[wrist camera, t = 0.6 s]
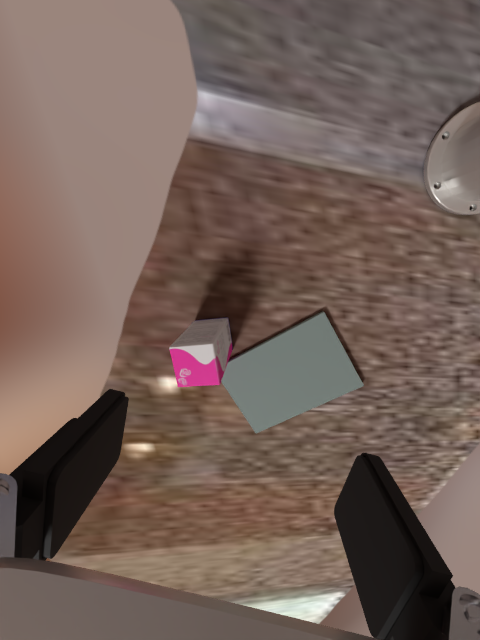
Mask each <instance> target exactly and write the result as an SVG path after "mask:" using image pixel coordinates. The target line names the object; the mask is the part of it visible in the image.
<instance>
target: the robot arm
mask: <svg viewBox="0 0 480 640" xmlns="http://www.w3.org/2000/svg"><path fill="white" fill-rule="evenodd" d="M442 137H443V139H442ZM424 181H425V186H426V189H427V191H428V194H429V195H430V197H431V198H432V200H433V201H434V202H435V203H436V204H437V205H438V206H439V207H441V208H442V209H444V210H445V211H448V212H451V213H454V214H460V215H472V214H478V213H480V102H477V103H474V104H472V105H471V106H469V107H467V108H465V109H463V110H462V111H460V112H459V113H457V114H456V115H454V116H453V117H452V118H451V119H450V120H449V121H448V122H446V123H445V124H444V126H443V127H442V128H441V129H440V130H439V131H438V133H437V134H436V136H435V137H434V139H433V141H432V142H431V144H430V147H429V149H428V152H427V154H426V159H425V163H424ZM434 186H435V188H434ZM128 400H129V399H128V397H125V393H124V392H121V391H117V390H113V389H109V390H108V391H107V392H105V393H104V394H103V395H102V396H101V397H100V398H99V399H98V400H97V401H96V402H95V403H94V404H93V405H92V406H91V407H89V408H88V409H87V411H85V412H84V413H83V414H82V415H81V416H80V417H79V418H78V419H77V418H73V419H71V420H70V421H68V422H67V423H66V424H65V425H64V426H63V427H62V428H60V429H59V430H58V431H57V432H56V433H55V434H54V435H53V436H52V437H50V439H48V440H47V441H46V442H45V443H44V444H43V445H42V446H41V447H40V448H38V449H37V450H36V451H35V452H34V453H33V454H32V455H31V456H30V457H28V459H26V460H25V461H24V462H23V463H22V464H21V465H20V466H18V468H16V469H15V470H14V471H13V472H12V473H11V474H10V475H7V474H2V473H0V640H480V595H479V594H478V593H476V592H475V591H472V590H470V589H468V588H464V587H457V588H455V586H454V585H453V583H452V581H451V578H452V576H453V575H452V573H451V572H450V570H449V569H448V567H447V565H446V564H445V562H444V560H443V559H442V557H441V556H440V554H439V552H438V551H437V549H436V547H435V546H434V544H433V543H432V541H431V539H430V538H429V536H428V534H427V533H426V531H425V529H424V528H423V526H422V525H421V523H420V522H419V520H418V518H417V516H416V515H415V513H414V512H413V510H412V508H411V507H410V505H409V503H408V502H407V500H406V499H405V497H404V495H403V494H402V492H401V490H400V489H399V487H398V486H397V484H396V482H395V481H394V479H393V477H392V476H391V474H390V473H389V471H388V469H387V468H386V466H385V464H384V463H383V461H382V460H381V458H380V457H379V456H376V455H372V454H368V453H362V454H361V456H360V455H359V456H357V457H356V459H355V461H354V464H353V466H352V468H351V471H350V473H349V475H348V477H347V480H346V482H345V484H344V487H343V489H342V491H341V493H340V496H339V498H338V500H337V502H336V505H335V509H334V515H335V519H336V523H337V526H338V529H339V532H340V536H341V539H342V542H343V546H344V549H345V552H346V555H347V559H348V562H349V565H350V569H351V572H352V575H353V578H354V582H355V585H356V588H357V592H358V594H359V598H360V601H361V605H362V608H363V611H364V615H365V618H366V621H367V624H368V627H369V630H370V633H371V635H372V636H373V637H374V638H372V637H368V636H364V635H359V634H356V633H352V632H348V631H344V630H340V629H336V628H332V627H328V626H324V625H320V624H316V623H312V622H308V621H304V620H300V619H296V618H292V617H288V616H284V615H280V614H276V613H272V612H268V611H264V610H259V609H255V608H251V607H247V606H243V605H239V604H235V603H231V602H227V601H223V600H218V599H214V598H210V597H206V596H202V595H198V594H194V593H189V592H185V591H181V590H177V589H173V588H168V587H164V586H160V585H156V584H151V583H147V582H143V581H139V580H135V579H130V578H126V577H122V576H118V575H113V574H109V573H104V572H99V571H95V570H90V569H85V568H81V567H76V566H71V565H67V564H62V563H57V562H50V561H45V560H46V559H47V558H50V559H52V558H53V557H54V556H55V555H56V553H57V552H58V550H59V549H60V547H61V546H62V544H63V543H64V541H65V540H66V538H67V537H68V535H69V534H70V532H71V531H72V529H73V528H74V526H75V525H76V523H77V522H78V520H79V519H80V517H81V515H82V514H83V512H84V511H85V509H86V508H87V506H88V505H89V503H90V502H91V500H92V499H93V497H94V496H95V494H96V493H97V491H98V490H99V488H100V487H101V485H102V484H103V482H104V481H105V479H106V478H107V476H108V474H109V473H110V471H111V470H112V468H113V467H114V465H115V464H116V462H117V460H118V458H119V455H120V452H121V445H122V439H123V432H124V426H125V420H126V413H127V407H128Z"/></svg>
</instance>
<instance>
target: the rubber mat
mask: <svg viewBox="0 0 480 640" xmlns="http://www.w3.org/2000/svg"><path fill="white" fill-rule="evenodd" d="M221 382H222V383H223V385H224V386H225V388H226V389H227V391H228V392H229V394H230V395H231V397H232V398H233V400H234V401H235V403H236V404H237V406H238V407H239V409H240V410H241V412H242V413H243V415H244V416H245V418H246V419H247V421H248V422H249V424H250V425H251V427H252V428H253V430H254V431H255V433H258V432H260V431H263V430H265V429H267V428H269V427H272V426H274V425H276V424H279V423H281V422H283V421H285V420H288V419H290V418H292V417H294V416H297V415H299V414H301V413H303V412H306V411H308V410H310V409H312V408H315V407H317V406H319V405H321V404H324V403H326V402H328V401H330V400H333V399H335V398H337V397H339V396H342V395H344V394H346V393H348V392H351V391H353V390H355V389H358V388H360V387H362V386H364V385H363V383H362V381H361V379H360V377H359V376H358V374H357V372H356V370H355V368H354V366H353V364H352V363H351V361H350V359H349V357H348V355H347V353H346V352H345V350H344V348H343V346H342V344H341V342H340V340H339V339H338V337H337V335H336V333H335V331H334V329H333V328H332V326H331V324H330V322H329V320H328V318H327V316H326V315H325V313H324V311H322V312H320V313H318V314H316V315H314V316H312V317H310V318H308V319H306V320H305V321H303V322H301V323H299V324H297V325H295V326H293V327H291V328H289V329H287V330H286V331H284V332H282V333H280V334H278V335H276V336H274V337H272V338H270V339H268V340H267V341H265V342H263V343H261V344H259V345H257V346H255V347H253V348H251V349H249V350H248V351H246V352H244V353H242V354H240V355H238V356H236V357H234V358H232V359H230V360H229V361H228V363H227V366H226V369H225V372H224V375H223V377H222V380H221Z"/></svg>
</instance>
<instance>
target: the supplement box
mask: <svg viewBox="0 0 480 640" xmlns="http://www.w3.org/2000/svg"><path fill="white" fill-rule="evenodd" d="M232 350H233V346H232V338H231V331H230V324H229V318H228V317H225V318H215V319H203V320H195V321H194V322H193V323H192V324H191V325H190V326H189V327H188V328H187V329H186V330H185V331H184V332H183V333H182V335H181V336H180V337H179V338H178V339H177V340H176V341H175V342H174V343H173V344H172V345H171V346H170V353H171V357H172V362H173V366H174V371H175V375H176V380H177V384H178V387H188V386H204V385H220V383H221V380H222V377H223V375H224V372H225V369H226V366H227V363H228V361H229V358H230V355H231V352H232Z"/></svg>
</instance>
